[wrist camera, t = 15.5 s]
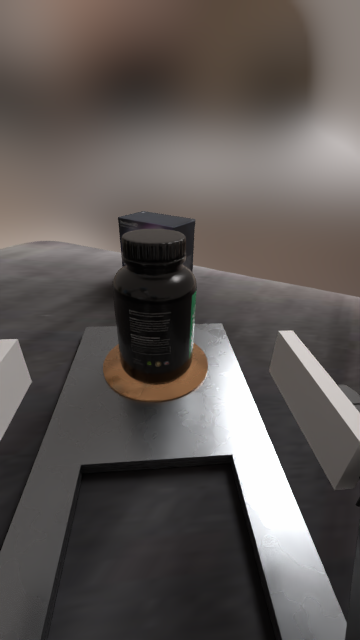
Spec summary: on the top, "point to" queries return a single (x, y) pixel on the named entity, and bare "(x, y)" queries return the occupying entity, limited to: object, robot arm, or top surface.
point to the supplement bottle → (155, 306)
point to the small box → (160, 222)
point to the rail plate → (161, 452)
